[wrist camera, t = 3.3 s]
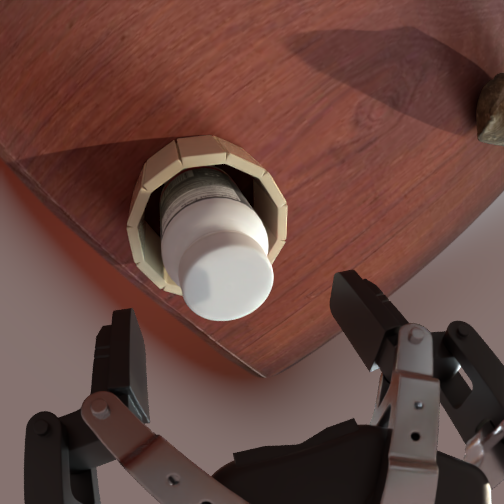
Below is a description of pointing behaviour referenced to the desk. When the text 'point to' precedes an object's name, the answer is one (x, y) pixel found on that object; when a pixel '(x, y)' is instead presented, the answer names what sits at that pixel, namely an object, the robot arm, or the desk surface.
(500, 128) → the fossilized seashell
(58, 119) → the desk surface
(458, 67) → the desk surface
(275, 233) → the bracelet
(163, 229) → the pill bottle
